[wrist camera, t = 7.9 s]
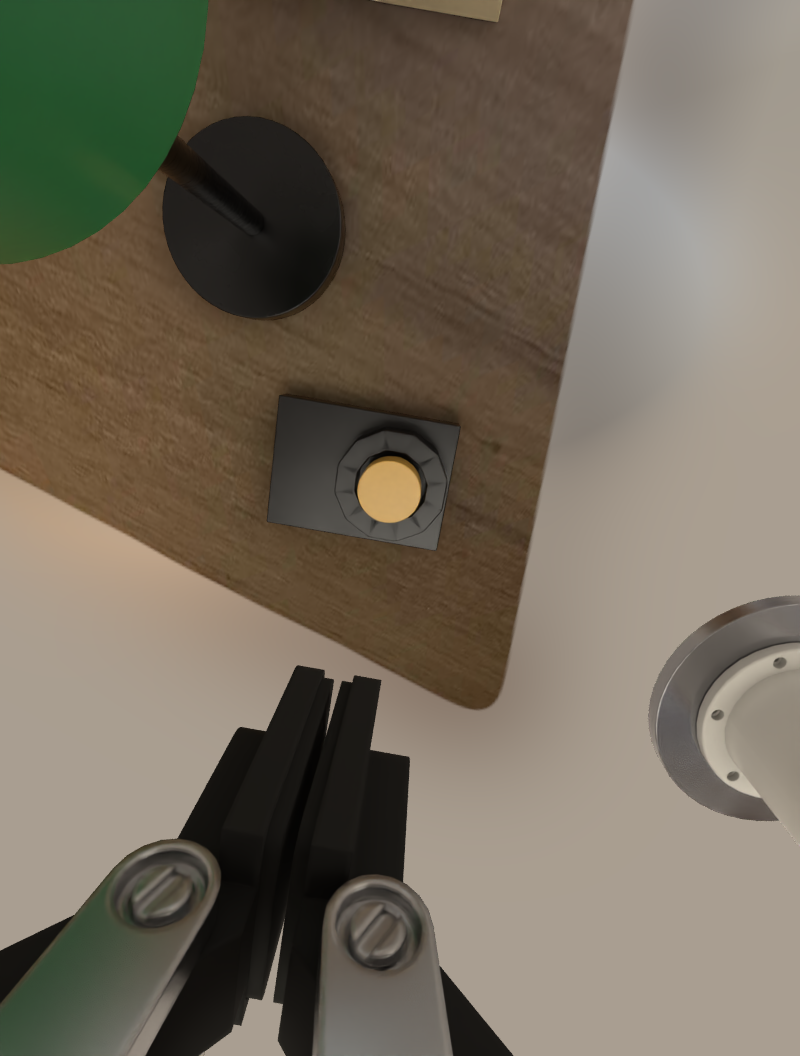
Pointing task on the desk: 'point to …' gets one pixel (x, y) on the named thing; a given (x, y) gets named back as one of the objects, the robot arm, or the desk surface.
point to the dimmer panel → (456, 7)
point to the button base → (356, 468)
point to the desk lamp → (155, 155)
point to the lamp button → (389, 489)
